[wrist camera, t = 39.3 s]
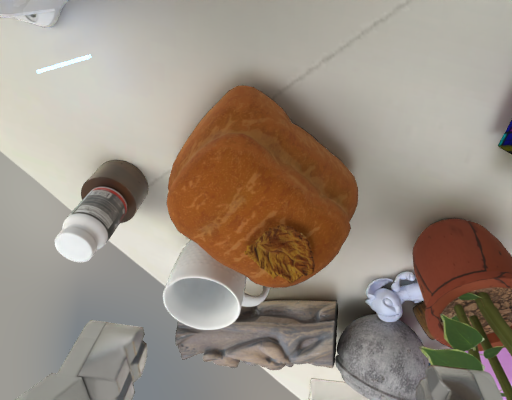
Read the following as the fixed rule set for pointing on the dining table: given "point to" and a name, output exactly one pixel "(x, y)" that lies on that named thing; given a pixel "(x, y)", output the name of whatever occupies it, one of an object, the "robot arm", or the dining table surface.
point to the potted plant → (465, 295)
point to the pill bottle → (91, 224)
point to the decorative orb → (381, 359)
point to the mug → (206, 291)
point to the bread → (258, 185)
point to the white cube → (333, 391)
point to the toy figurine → (392, 296)
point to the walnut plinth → (120, 184)
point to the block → (507, 139)
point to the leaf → (283, 253)
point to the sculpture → (268, 336)
